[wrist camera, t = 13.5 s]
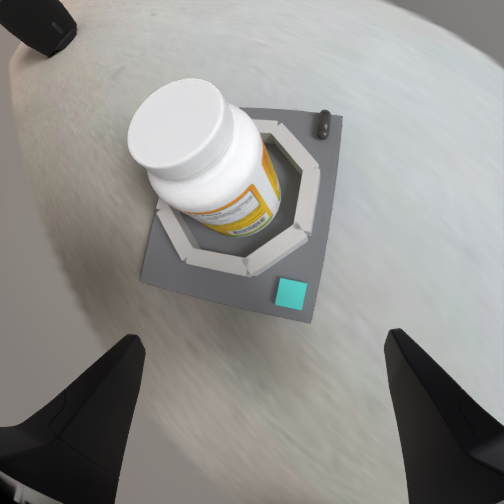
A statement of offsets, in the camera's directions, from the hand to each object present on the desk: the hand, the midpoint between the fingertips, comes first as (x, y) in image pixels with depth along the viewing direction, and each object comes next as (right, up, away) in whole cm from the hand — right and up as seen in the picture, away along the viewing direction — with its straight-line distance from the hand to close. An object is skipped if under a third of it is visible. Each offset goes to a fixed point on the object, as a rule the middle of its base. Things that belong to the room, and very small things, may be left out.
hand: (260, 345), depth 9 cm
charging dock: (-1, +7, +10) cm, 12 cm away
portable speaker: (-34, +41, +23) cm, 58 cm away
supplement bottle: (-1, +7, +9) cm, 12 cm away
